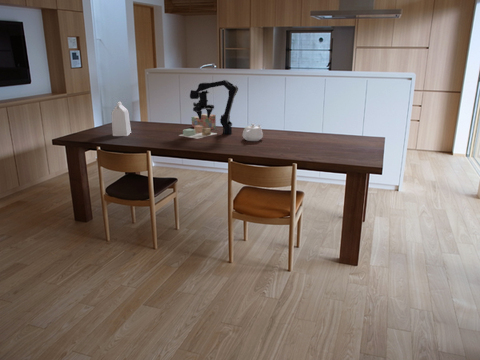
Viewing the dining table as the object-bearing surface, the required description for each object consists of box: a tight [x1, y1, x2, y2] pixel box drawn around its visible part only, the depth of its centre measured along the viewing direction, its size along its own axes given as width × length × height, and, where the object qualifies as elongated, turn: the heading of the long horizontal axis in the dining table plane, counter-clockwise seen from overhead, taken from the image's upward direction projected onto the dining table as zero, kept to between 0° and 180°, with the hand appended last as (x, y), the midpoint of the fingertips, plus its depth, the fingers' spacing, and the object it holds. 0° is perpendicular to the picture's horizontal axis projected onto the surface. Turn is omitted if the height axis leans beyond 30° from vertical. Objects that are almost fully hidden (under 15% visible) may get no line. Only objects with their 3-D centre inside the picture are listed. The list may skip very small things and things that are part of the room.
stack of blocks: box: [191, 113, 217, 130], centre depth 356 cm, size 21×6×12 cm, turn 58°
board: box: [178, 132, 218, 140], centre depth 330 cm, size 20×24×1 cm
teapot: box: [242, 123, 264, 142], centre depth 313 cm, size 25×16×12 cm, turn 153°
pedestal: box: [182, 128, 196, 136], centre depth 329 cm, size 7×7×4 cm
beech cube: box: [202, 128, 212, 137], centre depth 328 cm, size 5×5×5 cm
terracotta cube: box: [193, 125, 203, 133], centre depth 338 cm, size 5×5×5 cm
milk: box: [111, 101, 132, 137], centre depth 330 cm, size 12×12×26 cm
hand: (204, 118), depth 333 cm, fingers open, 9 cm apart
